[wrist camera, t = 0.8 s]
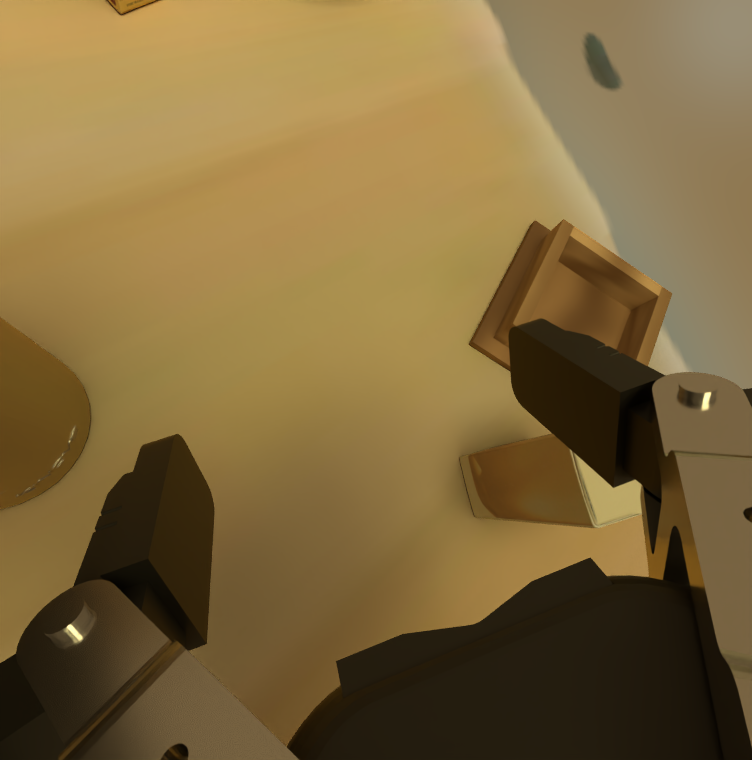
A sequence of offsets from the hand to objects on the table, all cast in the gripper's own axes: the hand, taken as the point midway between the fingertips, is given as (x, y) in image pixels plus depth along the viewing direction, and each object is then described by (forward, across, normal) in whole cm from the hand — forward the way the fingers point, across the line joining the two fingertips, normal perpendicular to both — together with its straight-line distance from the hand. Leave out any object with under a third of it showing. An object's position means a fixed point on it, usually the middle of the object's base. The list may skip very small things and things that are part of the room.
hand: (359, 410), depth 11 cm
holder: (+20, -20, +12) cm, 31 cm away
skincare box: (+13, -10, +18) cm, 24 cm away
